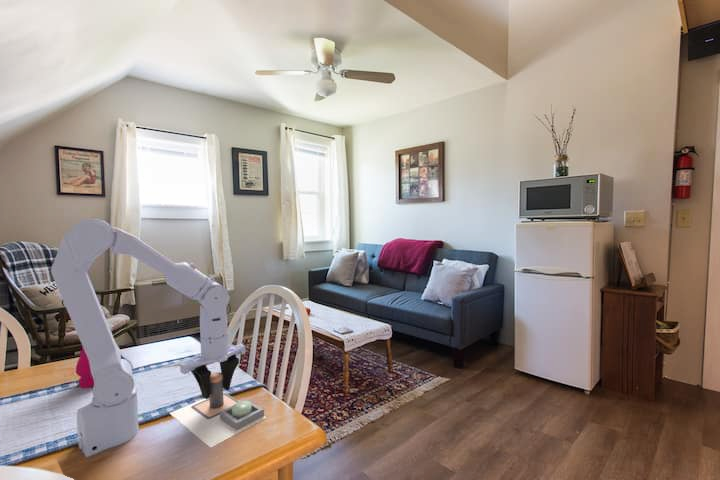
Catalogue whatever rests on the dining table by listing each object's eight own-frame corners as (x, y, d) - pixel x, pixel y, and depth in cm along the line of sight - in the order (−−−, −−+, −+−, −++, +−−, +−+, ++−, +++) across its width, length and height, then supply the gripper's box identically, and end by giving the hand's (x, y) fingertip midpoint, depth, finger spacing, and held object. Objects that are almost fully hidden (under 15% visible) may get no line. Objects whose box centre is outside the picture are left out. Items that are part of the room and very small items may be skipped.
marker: (206, 405, 78) (204, 376, 77) (219, 399, 80) (217, 371, 80) (213, 410, 76) (211, 380, 75) (226, 404, 78) (225, 374, 78)
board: (208, 456, 62) (208, 443, 62) (164, 417, 75) (163, 406, 75) (271, 421, 73) (271, 410, 73) (223, 392, 86) (223, 383, 86)
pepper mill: (70, 386, 90) (66, 312, 89) (100, 374, 97) (96, 305, 95) (87, 391, 87) (83, 314, 86) (116, 379, 94) (112, 308, 93)
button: (238, 420, 70) (238, 413, 70) (228, 414, 73) (228, 406, 73) (255, 412, 74) (255, 405, 73) (245, 406, 76) (244, 399, 76)
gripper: (189, 348, 69) (192, 413, 70) (252, 330, 80) (253, 386, 81) (174, 341, 73) (177, 401, 74) (235, 324, 85) (237, 377, 86)
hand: (216, 392), depth 78 cm, fingers open, 4 cm apart
